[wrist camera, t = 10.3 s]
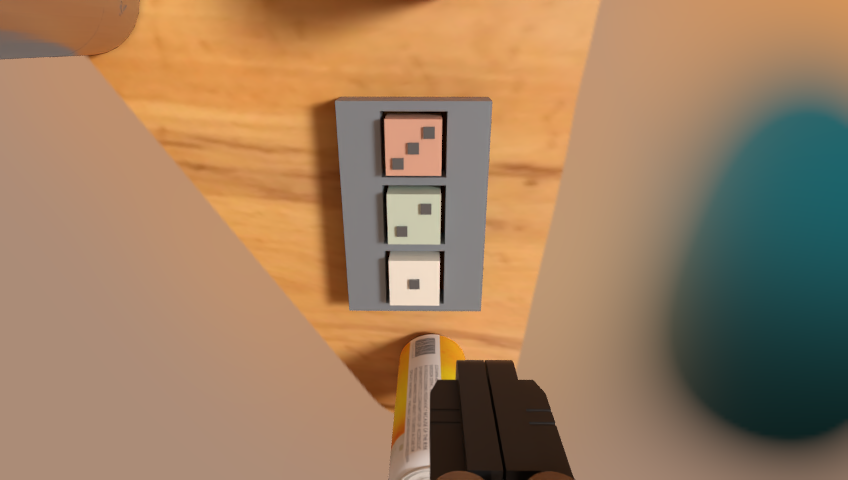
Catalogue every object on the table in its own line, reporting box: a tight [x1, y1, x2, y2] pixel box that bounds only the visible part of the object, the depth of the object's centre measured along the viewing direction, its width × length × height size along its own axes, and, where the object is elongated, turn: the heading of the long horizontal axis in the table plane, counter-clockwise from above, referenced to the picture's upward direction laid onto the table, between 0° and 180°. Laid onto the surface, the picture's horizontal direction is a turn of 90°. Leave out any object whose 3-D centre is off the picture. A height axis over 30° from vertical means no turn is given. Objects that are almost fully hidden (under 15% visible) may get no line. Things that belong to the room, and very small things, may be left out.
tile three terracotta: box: [384, 113, 442, 176], centre depth 35 cm, size 4×4×3 cm
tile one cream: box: [389, 251, 440, 306], centre depth 39 cm, size 4×4×3 cm
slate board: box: [335, 97, 492, 311], centre depth 38 cm, size 11×17×2 cm, turn 0°
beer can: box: [388, 334, 465, 480], centre depth 38 cm, size 6×6×15 cm
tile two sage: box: [387, 185, 441, 245], centre depth 37 cm, size 4×4×3 cm
